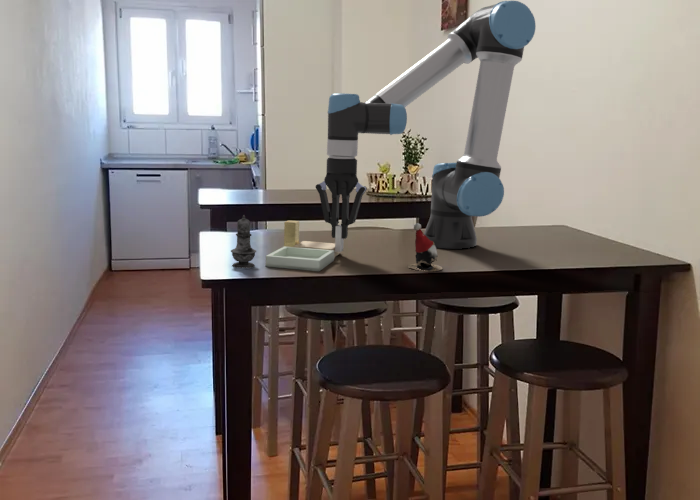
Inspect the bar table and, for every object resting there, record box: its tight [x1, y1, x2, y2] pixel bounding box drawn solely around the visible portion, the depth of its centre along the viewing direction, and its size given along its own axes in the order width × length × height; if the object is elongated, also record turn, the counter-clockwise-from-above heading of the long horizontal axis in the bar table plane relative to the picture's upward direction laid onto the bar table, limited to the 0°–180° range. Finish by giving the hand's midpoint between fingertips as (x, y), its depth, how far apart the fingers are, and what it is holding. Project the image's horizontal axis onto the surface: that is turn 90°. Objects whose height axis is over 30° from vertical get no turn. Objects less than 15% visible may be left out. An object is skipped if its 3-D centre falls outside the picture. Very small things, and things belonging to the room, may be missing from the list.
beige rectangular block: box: [293, 240, 341, 258], centre depth 181 cm, size 10×8×3 cm
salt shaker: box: [230, 214, 257, 269], centre depth 164 cm, size 6×6×12 cm
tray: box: [265, 245, 335, 272], centre depth 169 cm, size 13×13×2 cm
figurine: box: [407, 222, 443, 273], centre depth 168 cm, size 8×10×12 cm
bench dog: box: [283, 220, 300, 247], centre depth 182 cm, size 3×3×8 cm
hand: (339, 250), depth 179 cm, fingers closed
